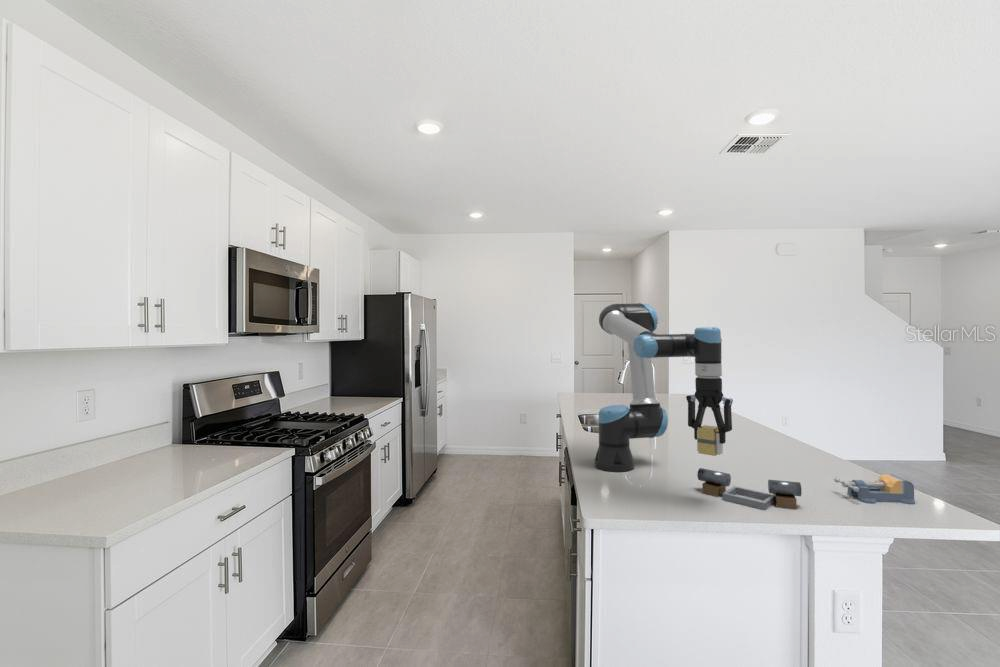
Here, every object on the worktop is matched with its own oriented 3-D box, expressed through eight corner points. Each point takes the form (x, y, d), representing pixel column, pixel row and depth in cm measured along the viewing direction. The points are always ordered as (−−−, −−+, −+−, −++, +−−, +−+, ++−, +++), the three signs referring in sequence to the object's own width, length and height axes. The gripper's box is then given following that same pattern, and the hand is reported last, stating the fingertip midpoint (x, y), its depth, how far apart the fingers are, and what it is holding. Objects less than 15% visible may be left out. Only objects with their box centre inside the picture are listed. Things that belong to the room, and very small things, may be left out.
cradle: (722, 499, 143) (722, 493, 143) (734, 492, 150) (734, 486, 150) (765, 510, 135) (765, 503, 135) (775, 501, 141) (775, 495, 141)
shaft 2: (771, 506, 137) (770, 482, 137) (767, 499, 143) (767, 476, 143) (802, 509, 134) (802, 485, 134) (797, 502, 140) (797, 479, 140)
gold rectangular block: (697, 453, 143) (697, 427, 143) (705, 450, 147) (704, 425, 147) (714, 456, 139) (713, 429, 139) (722, 453, 143) (721, 427, 143)
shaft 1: (696, 491, 151) (696, 470, 151) (704, 487, 155) (703, 466, 155) (724, 498, 145) (724, 475, 145) (732, 493, 149) (731, 471, 149)
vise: (893, 493, 147) (893, 472, 147) (919, 505, 137) (919, 483, 137) (833, 492, 149) (833, 471, 149) (855, 504, 138) (854, 482, 138)
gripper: (674, 376, 148) (676, 449, 147) (734, 379, 134) (735, 459, 134) (685, 374, 153) (687, 445, 152) (744, 377, 139) (746, 455, 139)
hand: (709, 451), depth 143 cm, fingers closed on gold rectangular block, 5 cm apart
